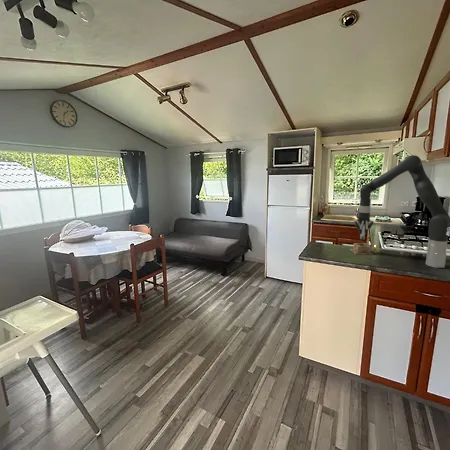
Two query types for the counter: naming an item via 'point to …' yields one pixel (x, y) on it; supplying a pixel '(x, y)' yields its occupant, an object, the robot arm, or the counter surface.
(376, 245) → the short brass pin
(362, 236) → the long steel pin
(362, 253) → the socket block
